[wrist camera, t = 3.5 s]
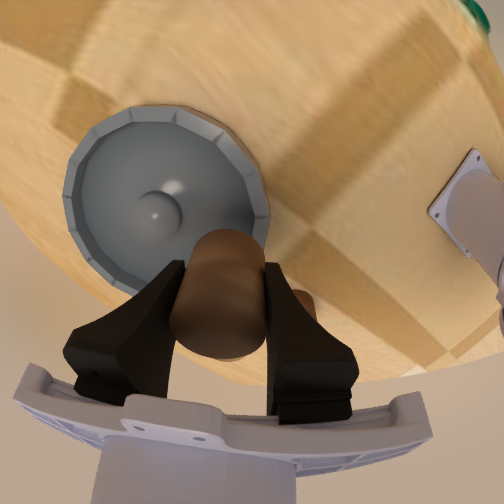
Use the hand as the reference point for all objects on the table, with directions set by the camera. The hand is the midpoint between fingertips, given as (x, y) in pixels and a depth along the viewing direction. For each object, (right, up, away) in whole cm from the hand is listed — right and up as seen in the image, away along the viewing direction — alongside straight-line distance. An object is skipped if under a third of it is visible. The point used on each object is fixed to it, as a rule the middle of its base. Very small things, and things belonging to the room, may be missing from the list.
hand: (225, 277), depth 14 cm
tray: (-6, +5, +7) cm, 11 cm away
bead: (0, +1, +1) cm, 2 cm away
